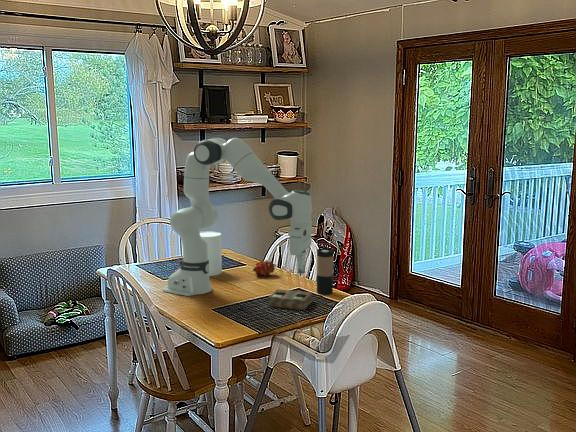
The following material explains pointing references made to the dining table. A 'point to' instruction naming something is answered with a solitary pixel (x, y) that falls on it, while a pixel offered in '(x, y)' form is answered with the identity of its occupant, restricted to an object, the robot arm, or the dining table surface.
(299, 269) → the steel plug
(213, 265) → the canister
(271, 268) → the dragon fruit
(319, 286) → the travel mug
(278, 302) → the socket block
